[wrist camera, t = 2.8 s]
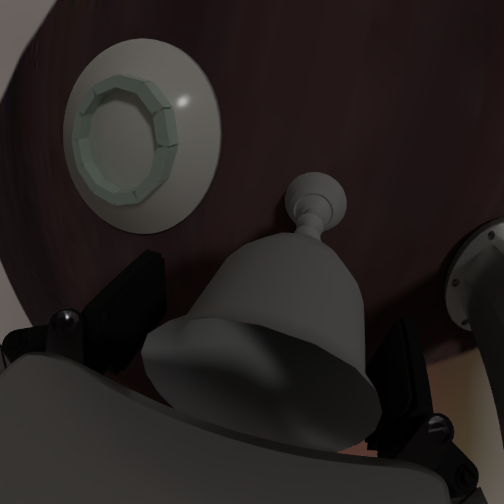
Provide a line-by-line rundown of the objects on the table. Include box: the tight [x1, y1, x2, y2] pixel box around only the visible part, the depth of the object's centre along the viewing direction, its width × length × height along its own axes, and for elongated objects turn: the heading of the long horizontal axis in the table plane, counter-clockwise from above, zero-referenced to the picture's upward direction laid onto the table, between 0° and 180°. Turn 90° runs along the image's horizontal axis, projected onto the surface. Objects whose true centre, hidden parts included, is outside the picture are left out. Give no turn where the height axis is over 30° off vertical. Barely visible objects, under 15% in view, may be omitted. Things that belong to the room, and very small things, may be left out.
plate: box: [63, 39, 222, 234], centre depth 23 cm, size 20×20×2 cm
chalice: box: [141, 172, 382, 453], centre depth 15 cm, size 7×7×18 cm
